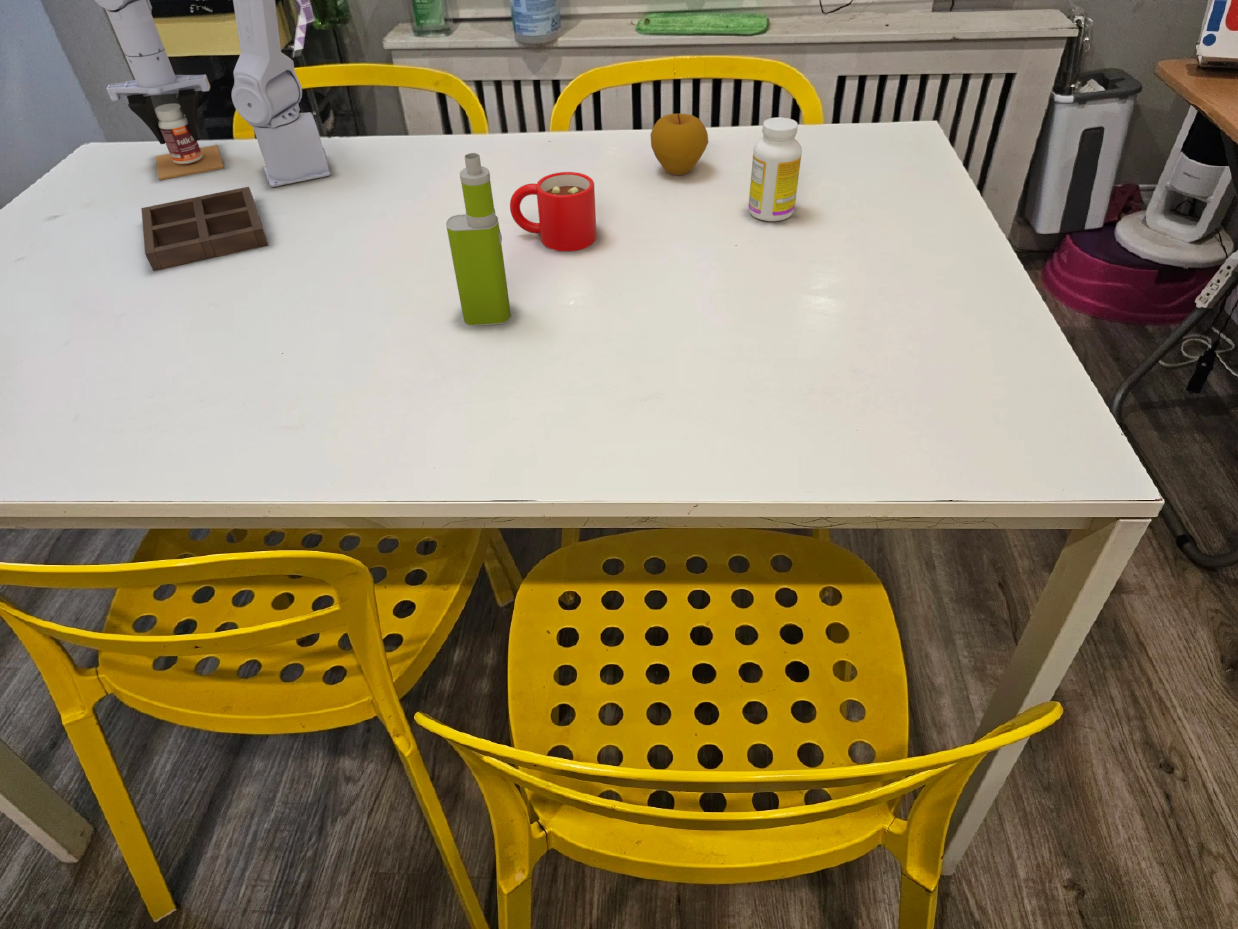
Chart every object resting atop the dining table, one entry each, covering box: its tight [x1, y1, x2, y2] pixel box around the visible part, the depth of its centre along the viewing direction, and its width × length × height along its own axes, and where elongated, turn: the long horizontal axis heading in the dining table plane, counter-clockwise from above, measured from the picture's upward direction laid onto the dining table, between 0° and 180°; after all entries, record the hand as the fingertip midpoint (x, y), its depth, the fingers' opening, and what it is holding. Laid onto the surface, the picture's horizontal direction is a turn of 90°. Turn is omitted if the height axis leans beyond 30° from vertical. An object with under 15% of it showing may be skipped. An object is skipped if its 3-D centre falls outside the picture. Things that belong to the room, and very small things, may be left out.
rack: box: [140, 186, 269, 271], centre depth 114 cm, size 15×15×3 cm
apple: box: [649, 113, 709, 176], centre depth 124 cm, size 9×9×9 cm
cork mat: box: [155, 144, 225, 181], centre depth 134 cm, size 10×10×1 cm
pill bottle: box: [154, 103, 202, 164], centre depth 130 cm, size 5×5×8 cm
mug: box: [509, 171, 598, 252], centre depth 110 cm, size 8×12×8 cm, turn 84°
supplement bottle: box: [748, 116, 803, 222], centre depth 112 cm, size 7×7×13 cm
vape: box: [445, 152, 512, 327], centre depth 91 cm, size 4×6×20 cm, turn 95°
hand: (180, 139), depth 131 cm, fingers closed on pill bottle, 5 cm apart
